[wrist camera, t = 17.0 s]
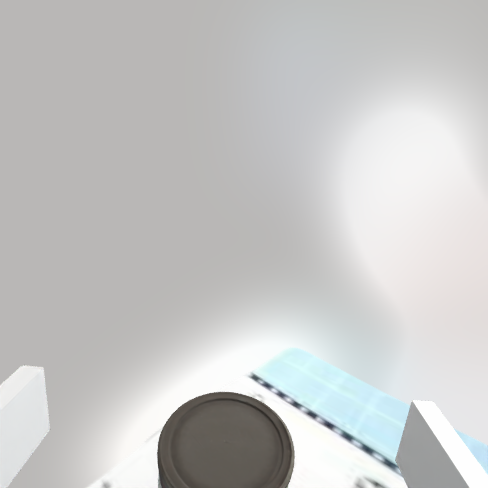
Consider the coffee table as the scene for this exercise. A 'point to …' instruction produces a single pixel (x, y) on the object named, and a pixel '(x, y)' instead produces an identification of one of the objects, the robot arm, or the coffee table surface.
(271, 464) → the coffee can
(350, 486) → the coffee table surface
